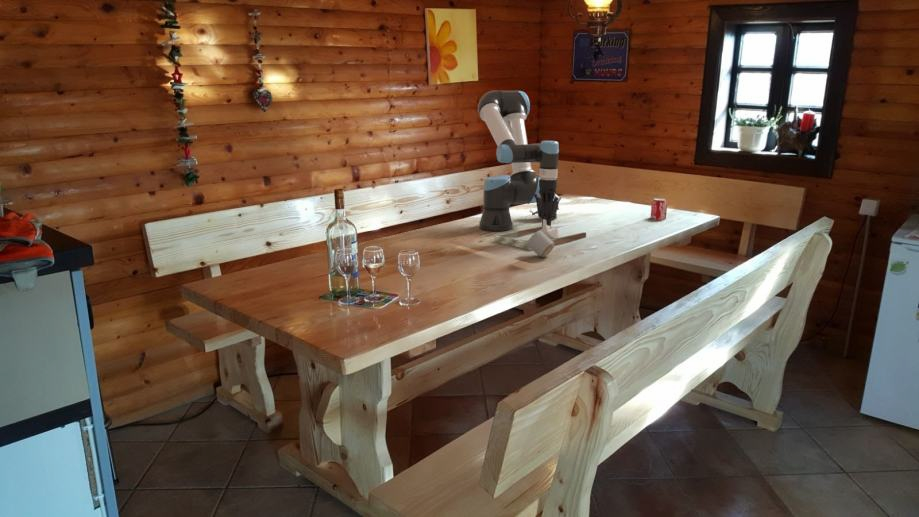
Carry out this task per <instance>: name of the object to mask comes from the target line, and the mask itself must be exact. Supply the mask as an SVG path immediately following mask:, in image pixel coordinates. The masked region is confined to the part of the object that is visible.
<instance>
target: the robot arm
mask: <svg viewBox="0 0 919 517" xmlns="http://www.w3.org/2000/svg"><path fill="white" fill-rule="evenodd" d="M530 107H531V103H530V99H529V96H528V95H527V93H526V92H524V91H522V90H515V89H514V90H490V91H487V92H485V93H484V94H483V95H482V96H481V98H480V99H479V101H478V106H477V112H478V116H479V117H480V119H481V121H483V122H485V124H486V126H487V128H488V130H489V133H490V134H491V136H492V137H493V140H494V142H495V144H496V146H497V147H496V151H495V153H496V154H495V156H496V159H497V161H498V162H499V163H501V164H502V163H503V164H511V168H512V173H511V174H510V175H508V174H502V175H501V174H497V175H492V176H489V177H486V178H485V179H484V182H483V188H482V190H483V210H482V214H481V217H480V220H479V223H478V224H479V226H478V227H479V228H478V229H481V230H483V231H492V232H493V231H494V232H503V231H509V230H512V229H513V227H514V223H513V221H512V217H511V213H510V205H525V204H526V205H529V204H536V211H538V214H537V217H538V218H540V217H541V218H542V221H541V226H543V227H544V226H545V225H548V226H551V227H552V220H553V219H555V217H556V214H557V212H558V210H557V208H558V207H559V203H560V201H561V200H562V197H561V196H559V195H558V194H557V189H558V180H557V179H558V174H559V173H558V171H559V169H558V166H559V155H560V154H559V152H560V149H559V142H558V141H556V140H542V141H541V142H540V143H530V144H528V137H527V131H526V124H525V120H527V117H528V115H529V114H530V109H531V108H530ZM531 163H539V169H538V170H539V173H538V175H539V176H537V174H536V171H535V170H533V169H532V164H531ZM556 194H557V195H558V196H557V195H556Z"/></svg>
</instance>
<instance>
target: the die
mask: <svg viewBox="0 0 919 517" xmlns="http://www.w3.org/2000/svg"><path fill="white" fill-rule="evenodd" d="M558 229H559V228H556V227H553V226H552V225H551V226H548V225H545V226H544V227H543V228H542V229H541V230H540V231H542V232H543V233H544V234H545V235H546V236H547V237H548V238H549V239H556V238H560V235H559V230H558Z"/></svg>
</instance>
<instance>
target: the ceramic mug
mask: <svg viewBox="0 0 919 517" xmlns="http://www.w3.org/2000/svg"><path fill="white" fill-rule="evenodd" d="M526 242H527V246H528V247H529V248H530V249H532V250H531V251H533V252H534V253H535V254H536V255H538V257H541V258H545V257H547V256H548V255H549V254H550V253H552V251H553V249H554V247H555V246H554V243H553V242H552V240H551V239H549V238H548V237H547V236H546V235H545V234H544V233H543V232H542V231H540V230H539V231H537V232H536V233H532V234H531V236H530V238H529V239H528V240H527V241H526Z"/></svg>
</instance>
